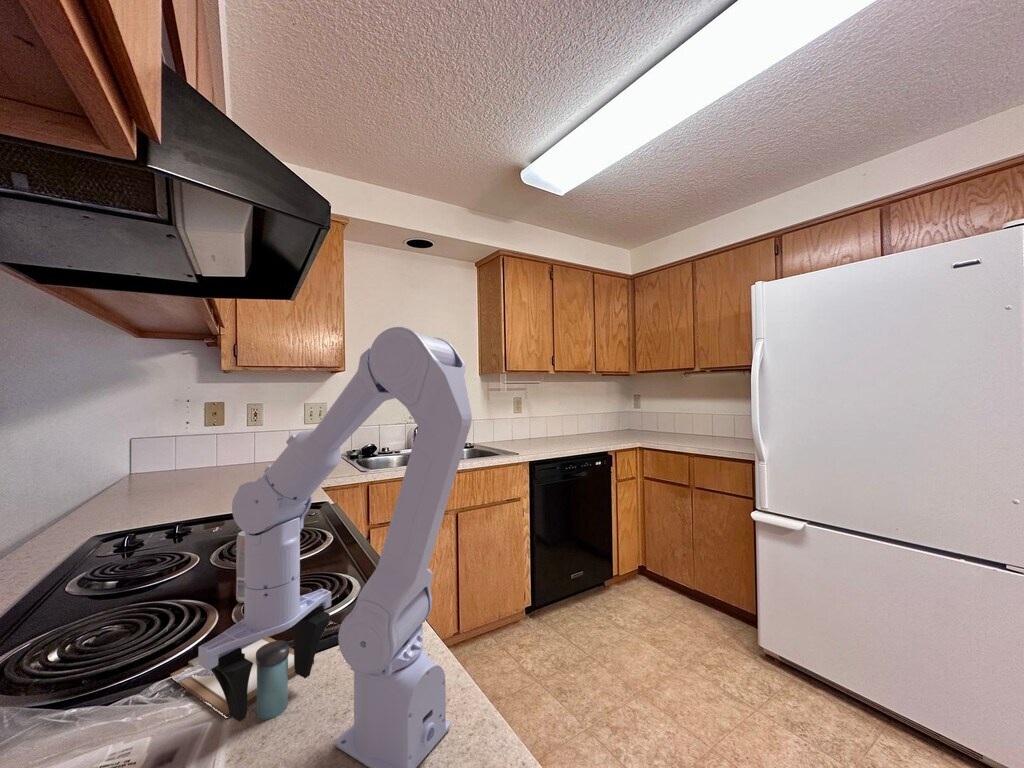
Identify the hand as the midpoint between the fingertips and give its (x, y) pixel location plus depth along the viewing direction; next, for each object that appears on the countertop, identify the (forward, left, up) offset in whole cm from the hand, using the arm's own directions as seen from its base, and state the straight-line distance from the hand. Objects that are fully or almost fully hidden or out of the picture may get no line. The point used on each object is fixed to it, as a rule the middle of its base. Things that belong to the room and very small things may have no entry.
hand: (272, 694), depth 48 cm
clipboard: (+10, -2, -2) cm, 10 cm away
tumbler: (0, 0, -2) cm, 2 cm away
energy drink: (+30, -14, -2) cm, 33 cm away
